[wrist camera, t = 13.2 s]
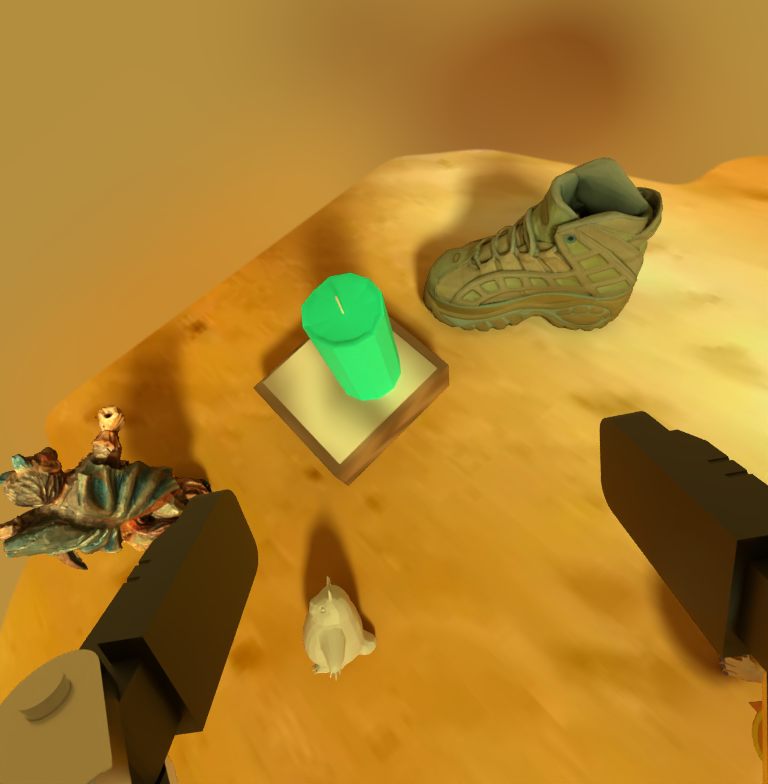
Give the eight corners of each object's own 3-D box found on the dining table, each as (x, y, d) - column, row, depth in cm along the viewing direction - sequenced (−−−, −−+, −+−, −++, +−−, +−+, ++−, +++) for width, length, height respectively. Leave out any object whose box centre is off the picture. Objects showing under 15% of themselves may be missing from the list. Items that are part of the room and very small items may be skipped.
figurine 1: (131, 459, 46) (-50, 415, 29) (213, 442, 45) (78, 387, 28) (129, 567, 42) (-78, 590, 26) (218, 550, 42) (68, 562, 25)
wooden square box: (368, 317, 48) (358, 289, 43) (448, 385, 44) (448, 363, 39) (273, 404, 46) (251, 386, 41) (348, 485, 42) (334, 475, 37)
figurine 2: (305, 620, 39) (295, 552, 36) (369, 608, 40) (364, 540, 37) (308, 712, 32) (296, 635, 29) (386, 694, 33) (382, 618, 30)
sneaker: (447, 243, 50) (445, 123, 36) (626, 281, 45) (702, 158, 31) (415, 322, 47) (399, 224, 33) (603, 372, 42) (676, 281, 28)
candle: (388, 331, 41) (364, 247, 30) (411, 386, 39) (393, 317, 28) (329, 354, 41) (282, 278, 30) (348, 410, 39) (305, 351, 28)
